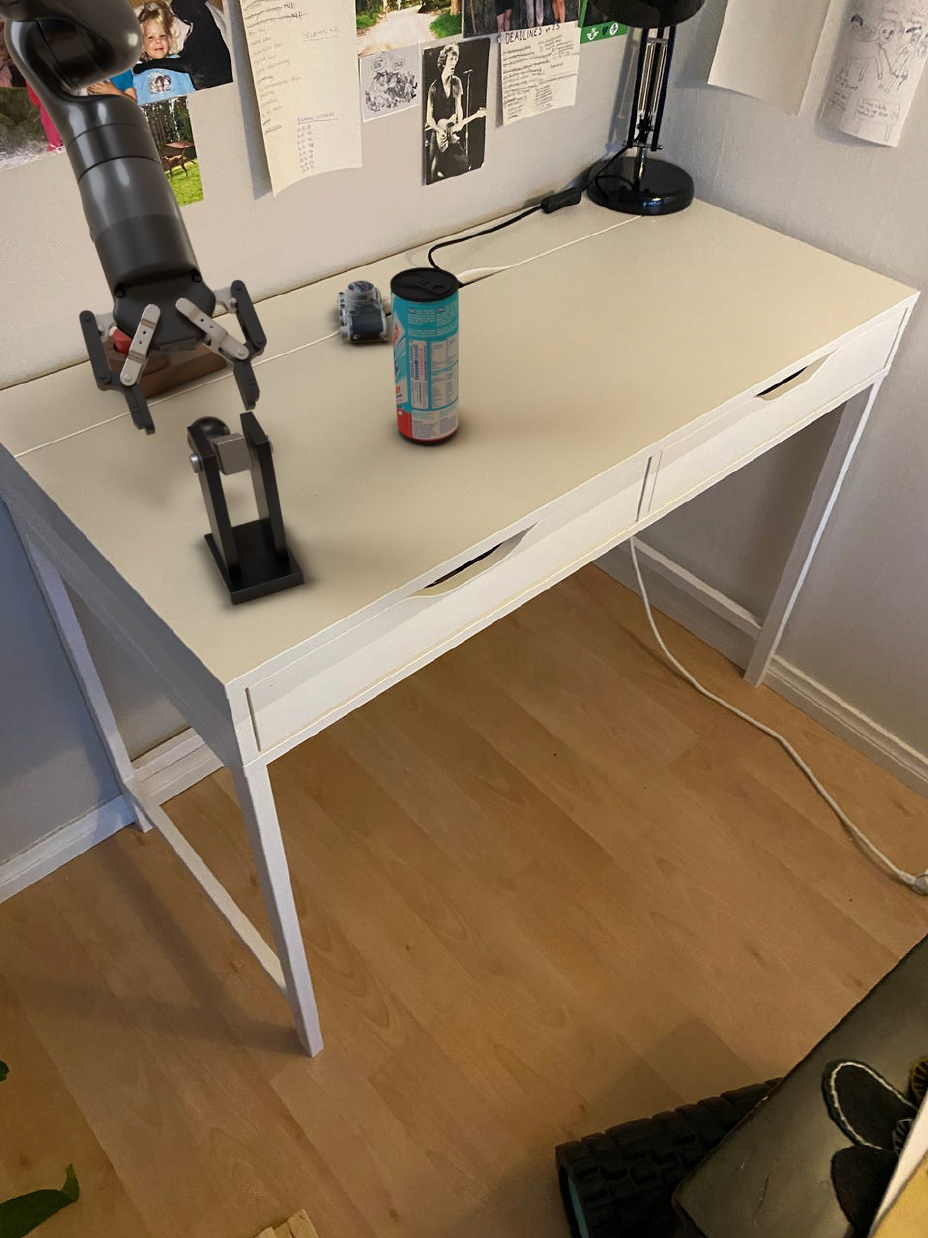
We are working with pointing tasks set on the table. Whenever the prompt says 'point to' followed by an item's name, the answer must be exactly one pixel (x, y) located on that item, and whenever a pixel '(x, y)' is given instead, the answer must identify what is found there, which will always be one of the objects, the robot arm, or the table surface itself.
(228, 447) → the lever
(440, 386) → the beverage can
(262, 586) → the bracket
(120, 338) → the button
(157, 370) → the button block
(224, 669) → the table surface
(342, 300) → the camera
